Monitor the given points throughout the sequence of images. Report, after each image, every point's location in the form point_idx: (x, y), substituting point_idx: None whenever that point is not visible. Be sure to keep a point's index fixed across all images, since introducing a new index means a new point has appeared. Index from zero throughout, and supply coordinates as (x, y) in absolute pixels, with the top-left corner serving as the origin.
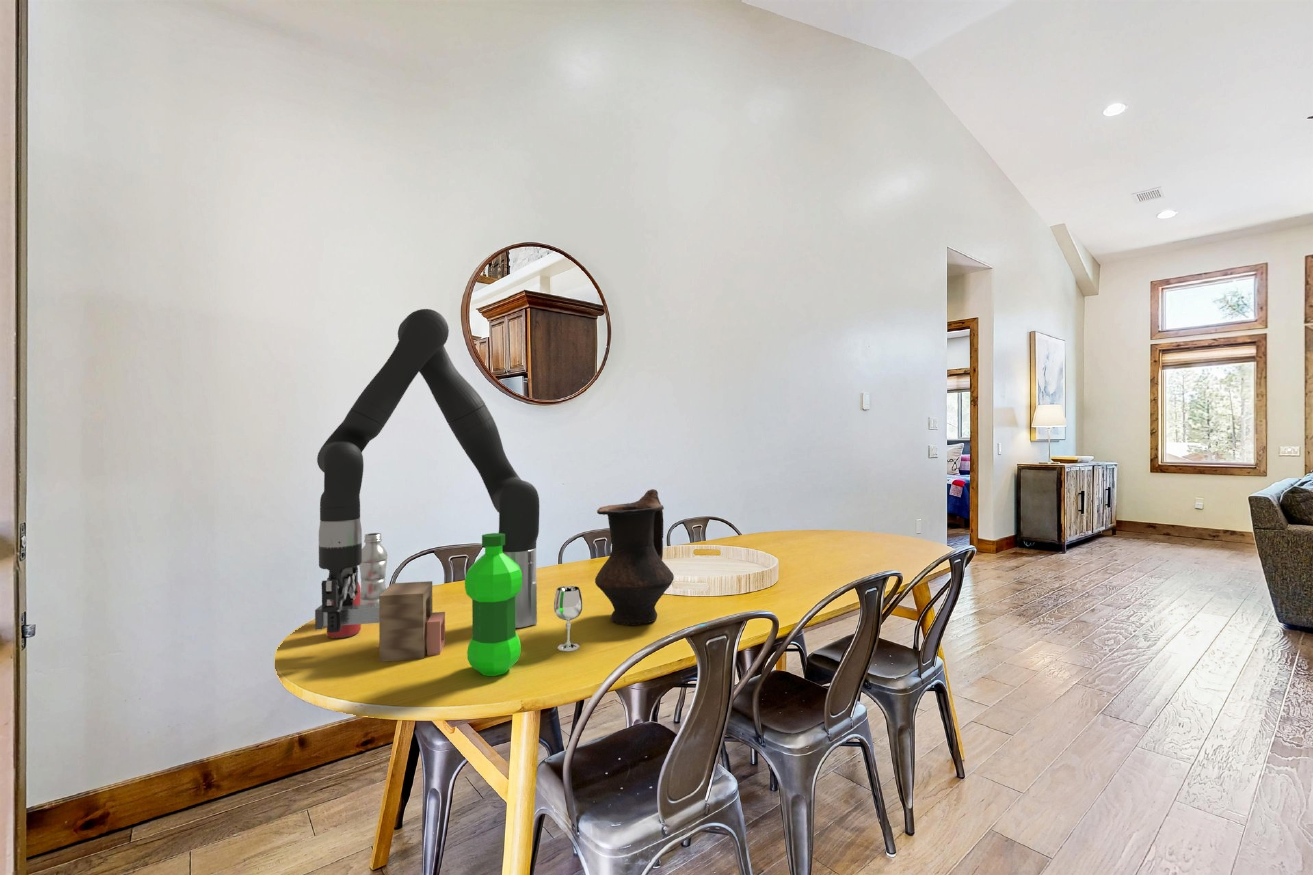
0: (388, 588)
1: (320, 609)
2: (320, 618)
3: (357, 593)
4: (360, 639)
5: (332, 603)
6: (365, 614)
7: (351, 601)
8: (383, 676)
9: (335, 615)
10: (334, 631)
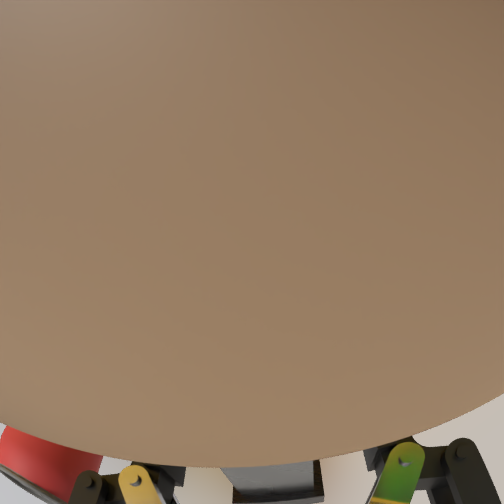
0: (27, 412)
1: (321, 497)
2: (319, 465)
3: (26, 435)
4: None
5: (99, 463)
6: None
7: (154, 467)
8: None
9: (409, 436)
10: None
